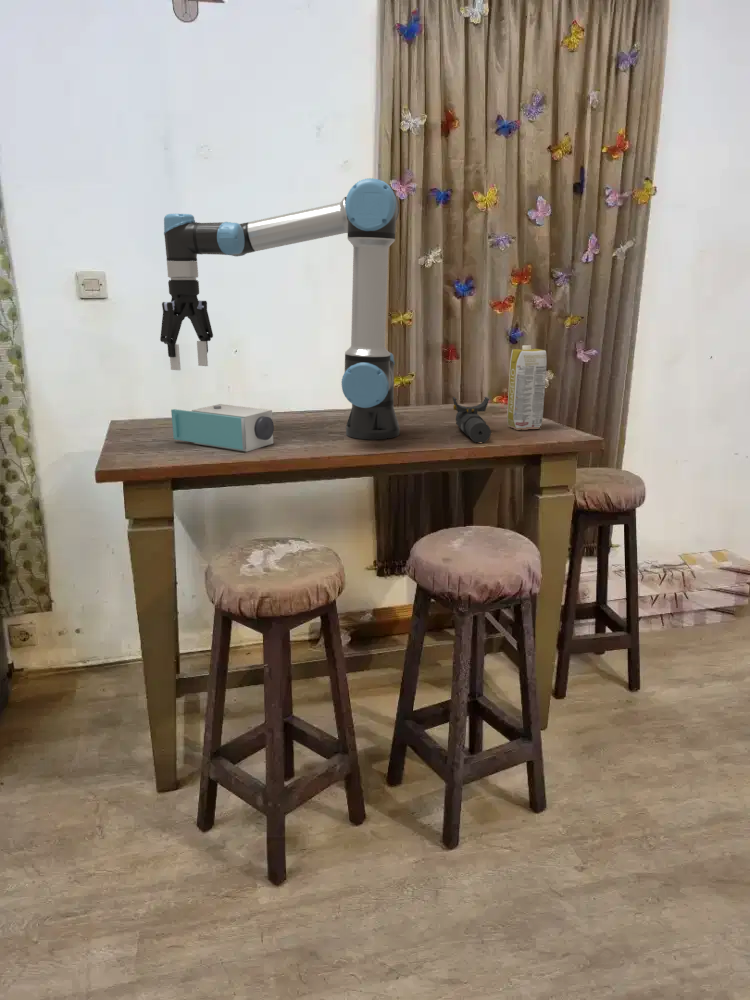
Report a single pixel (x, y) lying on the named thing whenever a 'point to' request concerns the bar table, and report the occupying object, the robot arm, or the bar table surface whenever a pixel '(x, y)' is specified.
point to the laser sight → (472, 421)
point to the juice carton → (526, 387)
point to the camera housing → (247, 424)
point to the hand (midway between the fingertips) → (189, 367)
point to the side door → (209, 429)
